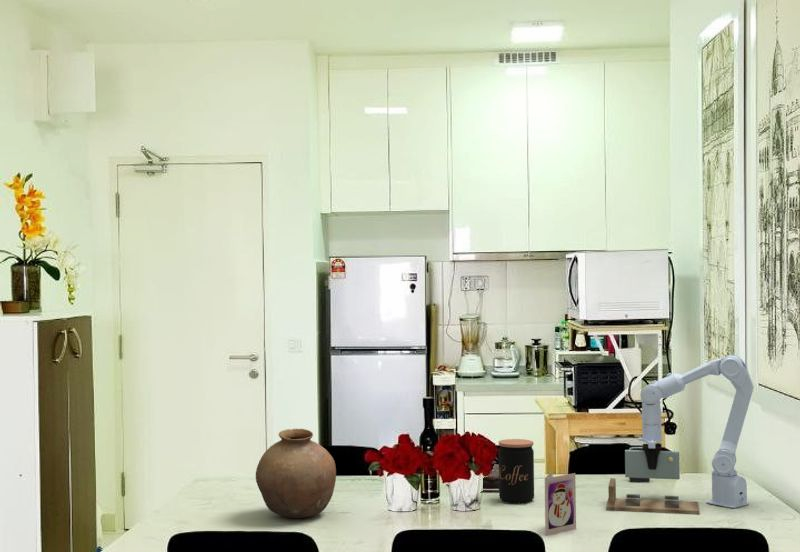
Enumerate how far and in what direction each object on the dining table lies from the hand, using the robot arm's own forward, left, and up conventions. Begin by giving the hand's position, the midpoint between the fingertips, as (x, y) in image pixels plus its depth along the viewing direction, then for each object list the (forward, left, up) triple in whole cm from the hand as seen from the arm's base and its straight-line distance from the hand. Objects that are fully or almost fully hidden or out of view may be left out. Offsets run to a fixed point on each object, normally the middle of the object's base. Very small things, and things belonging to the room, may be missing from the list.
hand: (652, 468), depth 301 cm
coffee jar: (+26, +33, -10) cm, 43 cm away
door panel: (0, 0, -3) cm, 3 cm away
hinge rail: (-7, +10, -9) cm, 15 cm away
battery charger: (+20, -18, -10) cm, 29 cm away
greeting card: (-6, +51, -10) cm, 52 cm away
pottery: (+53, +95, -10) cm, 109 cm away
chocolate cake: (+50, +22, -10) cm, 55 cm away
